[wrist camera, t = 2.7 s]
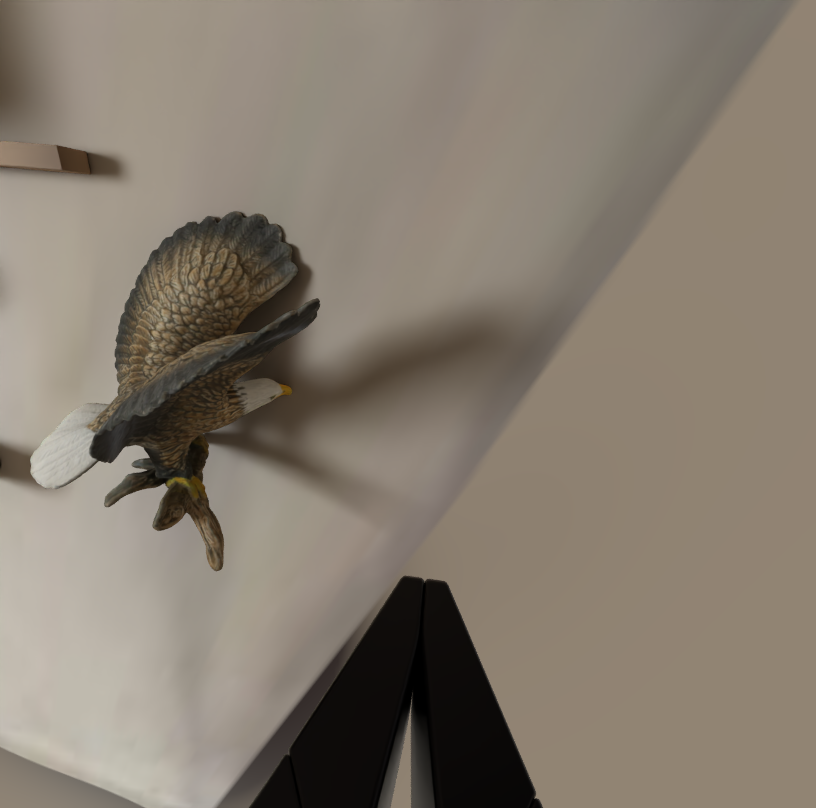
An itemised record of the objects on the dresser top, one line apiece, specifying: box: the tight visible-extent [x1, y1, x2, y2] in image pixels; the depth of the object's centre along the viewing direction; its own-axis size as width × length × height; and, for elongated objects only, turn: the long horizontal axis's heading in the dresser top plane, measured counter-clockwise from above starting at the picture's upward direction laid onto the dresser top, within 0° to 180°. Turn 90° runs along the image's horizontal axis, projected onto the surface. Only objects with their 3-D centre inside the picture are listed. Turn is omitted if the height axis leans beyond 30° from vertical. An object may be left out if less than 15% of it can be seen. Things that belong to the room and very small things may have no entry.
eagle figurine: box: [30, 211, 320, 571], centre depth 12 cm, size 8×7×9 cm
